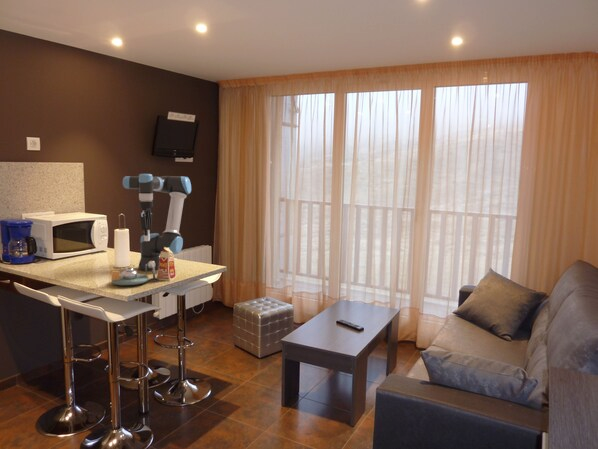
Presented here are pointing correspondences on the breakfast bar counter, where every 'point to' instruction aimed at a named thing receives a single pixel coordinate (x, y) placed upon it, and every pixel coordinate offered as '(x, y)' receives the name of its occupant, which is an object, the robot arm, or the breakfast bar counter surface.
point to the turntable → (120, 281)
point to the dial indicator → (152, 265)
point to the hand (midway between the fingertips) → (147, 240)
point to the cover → (129, 274)
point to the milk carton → (166, 265)
